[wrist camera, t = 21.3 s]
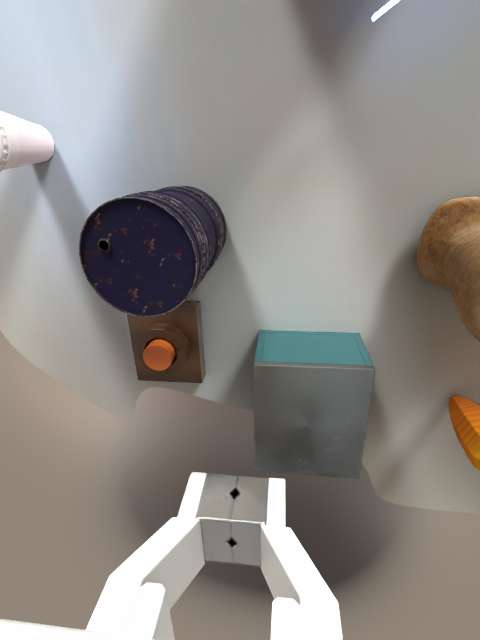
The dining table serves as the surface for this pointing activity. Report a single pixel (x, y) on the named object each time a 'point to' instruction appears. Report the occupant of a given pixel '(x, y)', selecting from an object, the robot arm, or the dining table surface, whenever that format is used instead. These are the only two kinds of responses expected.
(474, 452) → the carrot
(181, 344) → the button block
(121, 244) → the oil barrel
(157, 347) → the button
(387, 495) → the dining table surface
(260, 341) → the tea tin
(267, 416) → the lid
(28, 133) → the smoothie
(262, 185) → the dining table surface
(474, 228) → the stone cup
